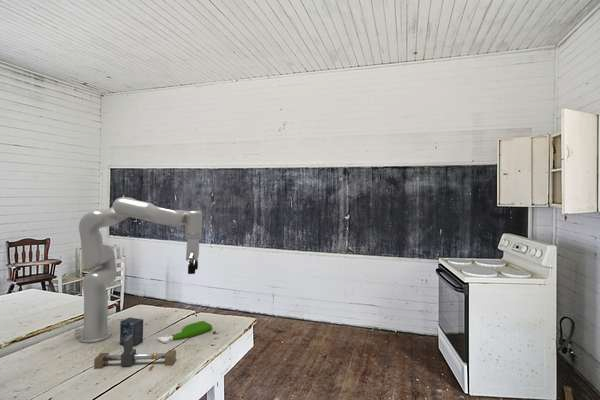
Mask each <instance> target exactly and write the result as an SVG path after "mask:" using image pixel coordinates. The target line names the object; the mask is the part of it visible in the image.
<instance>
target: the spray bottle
mask: <svg viewBox="0 0 600 400" xmlns="http://www.w3.org/2000/svg"><path fill="white" fill-rule="evenodd" d="M212 330H213V325H212V324H211V323H209V322H207V321H205V320H201V321H196V322H193V323H190V324H187V325H185V326H183V327H182V329H181V332H178V333H175V334H171V335H169V334H167V335H165V336H161V337H159V336H157V338H156V339H157V340H158V341H159V342H160V343H163V344H168V343H170V342H171V341H177V340H183V339H190V338H193V337H196V336H201V335H202V334H205V333H208V332H211V331H212Z"/></svg>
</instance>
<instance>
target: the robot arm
mask: <svg viewBox="0 0 600 400" xmlns="http://www.w3.org/2000/svg"><path fill="white" fill-rule="evenodd" d="M128 218H134V219H139V220H144V221H147V222H150V223H154V224H158V225H161V226H167V227H179V226H183V225H185V240H187V241H186V249H185V250H186V254H185V261H187V263H188V265H187V275H195V274H196V270H199V261H198V259H199V255H200V241H201V240H202V239H203V237H202V236H203V213H202V211H201V210H182V209H175V210H172V209H168V208H164V207H159V206H157V205H155V204H154V203H151V202H148V201H142V200H138V199H135V198H133V197H125V196H124V197H123V196H122V197H118V198H116V199H115V200H114V201H113V203H112V205H111V207H108V209H107V208H105V209H103V208H102V209H95V210H91V211H88V212H87V213H85V214H84V215H83V216H82V218H80V221H79V223H78V232H79V236H80V238H79V239H80V247H81V253H82V262H83V264H84V265H85V266H86V267H87V268H95V269H94V270H91V271H89V272H88V273H86V274H85V275H84V277H83V278H82V282H81V283H82V284H81V285H82V286H81V287H82V290H83V327H82V328H80V327H79V328H75V329H74V335H80V336H79V337H78V339H79V342H82V343H85V344H86V343H87V344H88V343H89V344H90V343H96V342H97V343H98V342H101V341H104V340H106V339H108V338H110V337H111V336H112V331H111V330H109V329H108V326H109V325H108V322H109V321H108V320H109V319H108V318H109V316H108V315H109V314H108V313H109V311H108V310H109V295H108V291H107V287H108V286H110V285H111V284H113V283H114V282H115V281H116V279H117V275H118V273H117V263H116V256H115V255H116V254H115V251H114V250H113V248H112V247H111V246H109V245H107V244H104V243H103V236H102V234H101V231H100V229H101V228H106V227H112V226H115V225H117V224H119V223H120V222H122V221H124V220H126V219H128Z"/></svg>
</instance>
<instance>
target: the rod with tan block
mask: <svg viewBox="0 0 600 400" xmlns="http://www.w3.org/2000/svg"><path fill="white" fill-rule="evenodd" d="M93 359H94V360H93V364H94V365H93V368H94V369H103V368H104V367H105V366H106V365H107V364H108V363H109V362H114V361H116V362H117V361H121V354H109V352H100V353H99V354H98V355H97V356H96V357H95V358H93ZM162 359H164V366H173V365H174V363H175V361H176V360H177V350H176V349H173V350H172V349H169V350H168V351H167V352H161V353H160V352H154V353H136V354H133V355H132V360H135V361H138V360H142V361H143V360H162ZM154 367H155V365H151V366H150V367H149V368H148V369H147V371H149V372H151V371H152V370H153V368H154Z"/></svg>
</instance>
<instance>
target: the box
mask: <svg viewBox="0 0 600 400" xmlns="http://www.w3.org/2000/svg"><path fill="white" fill-rule="evenodd" d="M119 324H120V326H119V344H120V345H123V346H124V341H125V340H126V338H127V337H128V336H129V335H131V334H133V348H134V347H136V346H138V345H140V344H142V343H143V340H144V319H142V318H136V317H127V318H125V319H123V320H120V322H119Z"/></svg>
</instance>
